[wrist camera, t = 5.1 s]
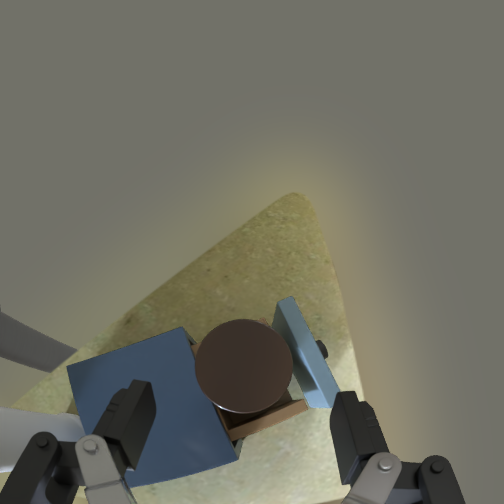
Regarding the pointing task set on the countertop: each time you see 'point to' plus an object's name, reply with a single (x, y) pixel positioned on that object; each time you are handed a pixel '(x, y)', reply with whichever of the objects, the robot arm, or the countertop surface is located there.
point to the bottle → (32, 431)
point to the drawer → (304, 368)
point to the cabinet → (158, 406)
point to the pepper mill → (243, 366)
